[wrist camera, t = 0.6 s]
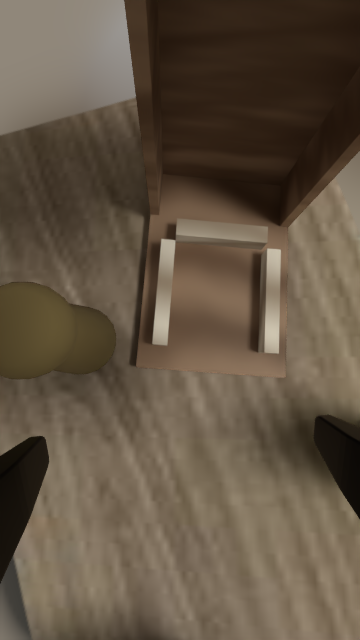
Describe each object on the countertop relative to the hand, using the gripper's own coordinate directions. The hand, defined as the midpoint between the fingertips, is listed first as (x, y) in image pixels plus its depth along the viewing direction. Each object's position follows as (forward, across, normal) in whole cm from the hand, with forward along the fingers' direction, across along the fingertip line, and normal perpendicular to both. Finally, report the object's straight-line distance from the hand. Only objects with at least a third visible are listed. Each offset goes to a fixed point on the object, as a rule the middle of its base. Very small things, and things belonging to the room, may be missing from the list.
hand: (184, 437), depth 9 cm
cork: (+15, +8, +1) cm, 17 cm away
